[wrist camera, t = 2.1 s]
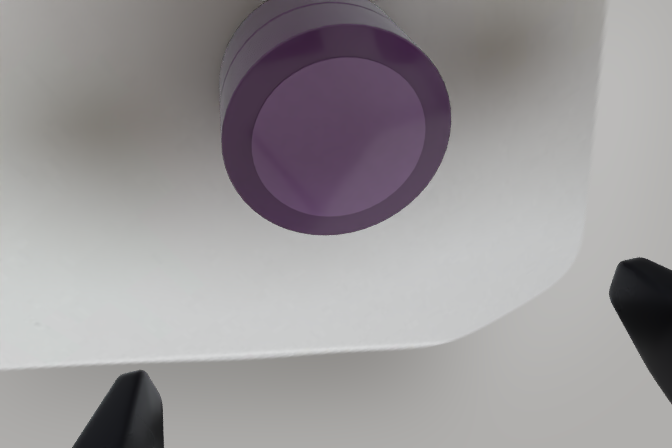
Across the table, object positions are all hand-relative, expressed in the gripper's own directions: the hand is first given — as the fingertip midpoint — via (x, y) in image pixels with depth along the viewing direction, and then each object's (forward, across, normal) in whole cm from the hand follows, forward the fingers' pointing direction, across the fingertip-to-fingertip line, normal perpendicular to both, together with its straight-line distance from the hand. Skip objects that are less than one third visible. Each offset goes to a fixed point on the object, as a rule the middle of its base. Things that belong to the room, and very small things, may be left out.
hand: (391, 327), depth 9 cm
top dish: (+8, 0, 0) cm, 9 cm away
